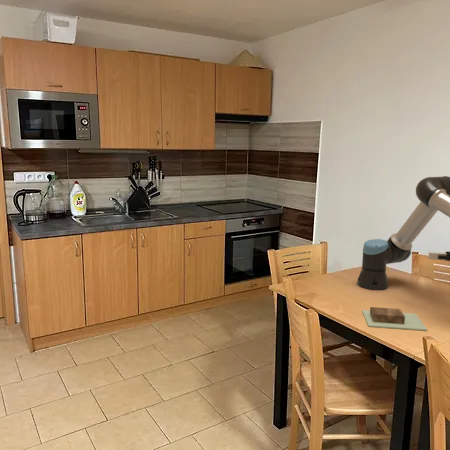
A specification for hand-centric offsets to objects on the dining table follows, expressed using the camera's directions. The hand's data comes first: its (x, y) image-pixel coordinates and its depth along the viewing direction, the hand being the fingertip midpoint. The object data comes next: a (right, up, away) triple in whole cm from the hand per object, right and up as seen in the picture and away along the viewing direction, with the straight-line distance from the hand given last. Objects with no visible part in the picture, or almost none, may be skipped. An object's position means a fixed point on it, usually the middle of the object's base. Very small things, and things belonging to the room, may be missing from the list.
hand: (429, 255), depth 173 cm
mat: (-15, -27, +1) cm, 31 cm away
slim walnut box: (-11, -25, 0) cm, 27 cm away
